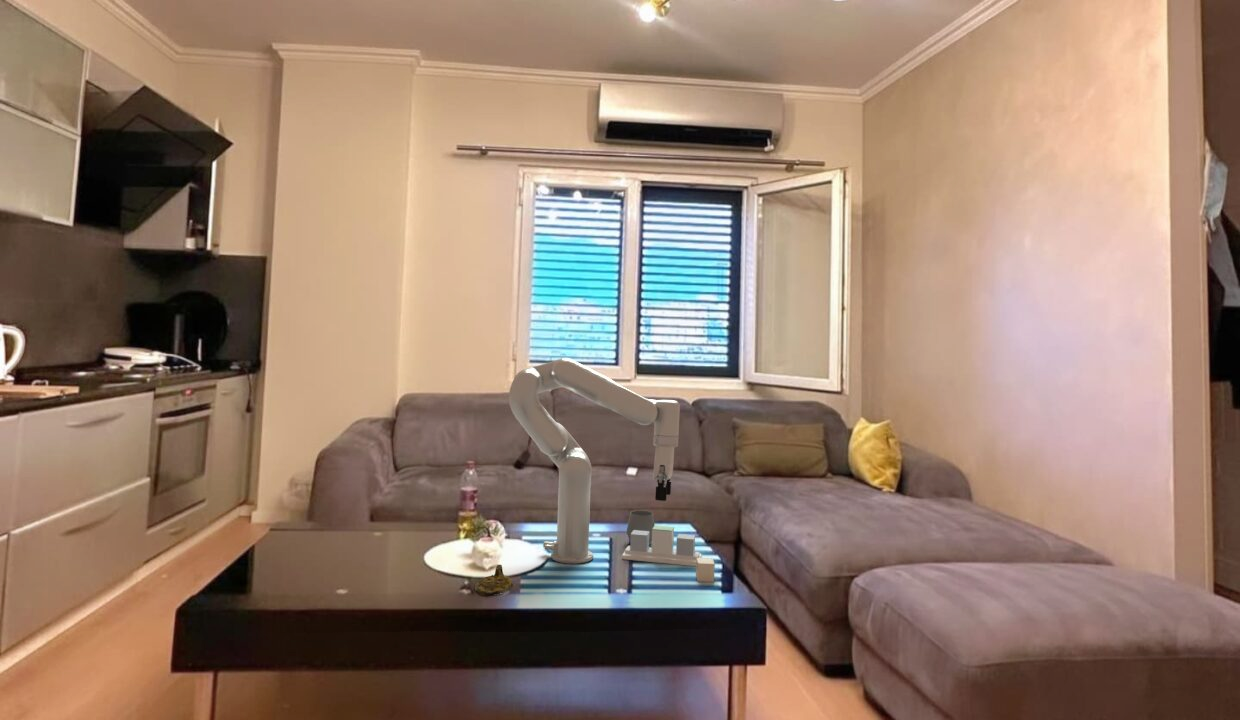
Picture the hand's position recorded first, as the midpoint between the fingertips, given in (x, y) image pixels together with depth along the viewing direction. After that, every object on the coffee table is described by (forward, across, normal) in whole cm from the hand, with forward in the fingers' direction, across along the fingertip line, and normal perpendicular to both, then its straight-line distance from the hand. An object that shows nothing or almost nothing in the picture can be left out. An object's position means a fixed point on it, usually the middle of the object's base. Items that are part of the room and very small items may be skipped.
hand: (663, 497), depth 205 cm
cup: (+19, -14, -8) cm, 25 cm away
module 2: (+18, +15, +15) cm, 28 cm away
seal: (+20, +38, -38) cm, 57 cm away
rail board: (+18, 0, +1) cm, 19 cm away
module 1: (+16, 0, +1) cm, 16 cm away
